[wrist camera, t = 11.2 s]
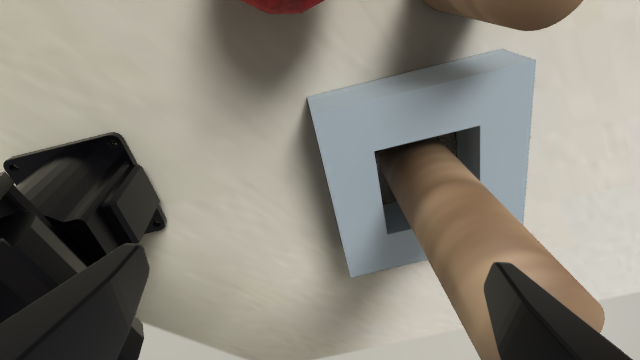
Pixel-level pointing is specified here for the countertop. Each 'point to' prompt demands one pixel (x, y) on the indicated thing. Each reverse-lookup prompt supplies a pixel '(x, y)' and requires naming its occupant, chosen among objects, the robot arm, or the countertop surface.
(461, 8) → the walnut peg short
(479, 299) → the walnut peg long
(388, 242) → the collar block
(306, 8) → the onion
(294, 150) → the countertop surface
